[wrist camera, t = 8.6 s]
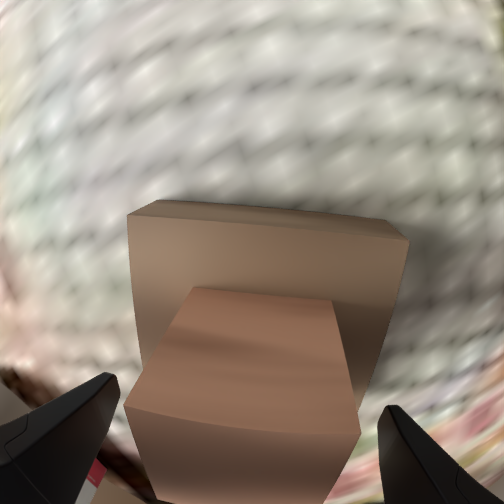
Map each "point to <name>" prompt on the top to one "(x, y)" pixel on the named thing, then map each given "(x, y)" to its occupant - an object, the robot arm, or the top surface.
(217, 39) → the top surface
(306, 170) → the top surface
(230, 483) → the terracotta cube
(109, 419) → the robot arm
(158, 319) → the tan square slab
